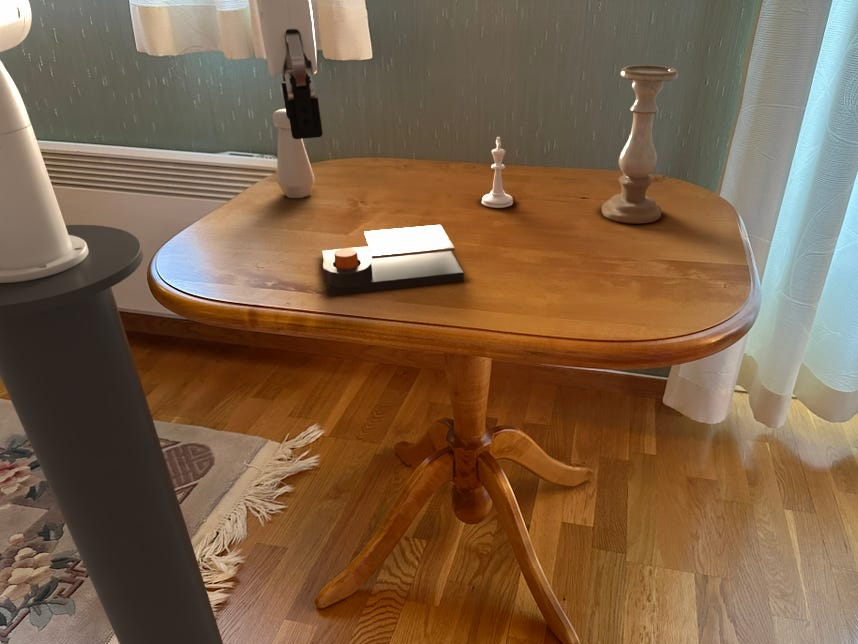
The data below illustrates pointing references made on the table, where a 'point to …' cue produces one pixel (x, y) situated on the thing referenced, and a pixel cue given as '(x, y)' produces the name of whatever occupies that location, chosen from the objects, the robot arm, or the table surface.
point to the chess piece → (497, 182)
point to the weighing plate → (407, 241)
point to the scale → (390, 272)
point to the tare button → (346, 258)
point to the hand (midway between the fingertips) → (304, 127)
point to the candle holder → (639, 148)
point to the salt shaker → (292, 160)
